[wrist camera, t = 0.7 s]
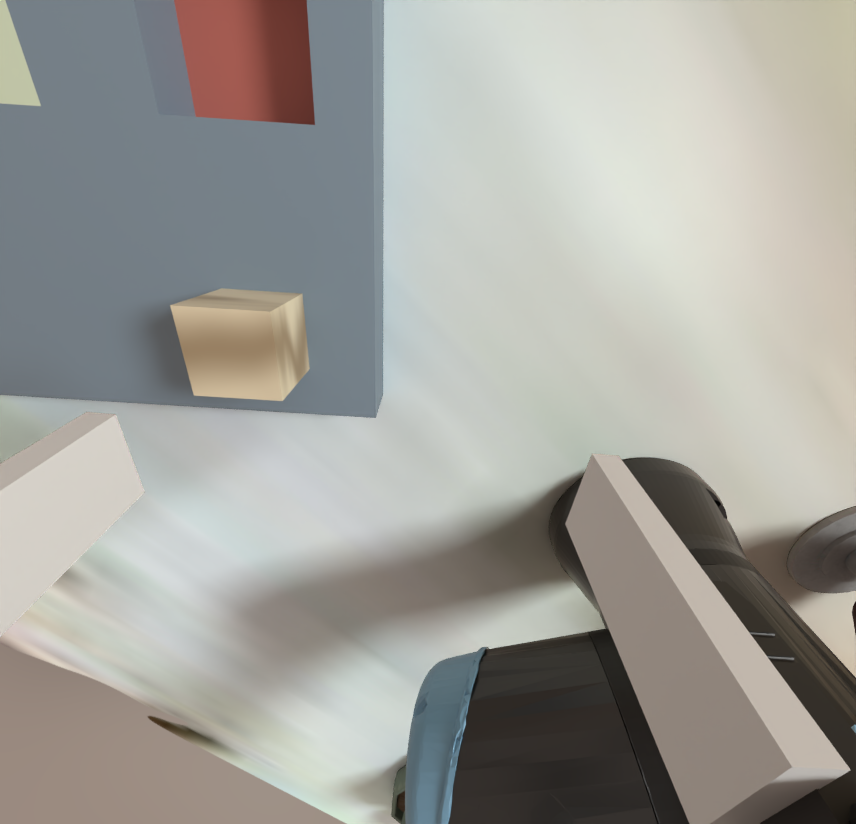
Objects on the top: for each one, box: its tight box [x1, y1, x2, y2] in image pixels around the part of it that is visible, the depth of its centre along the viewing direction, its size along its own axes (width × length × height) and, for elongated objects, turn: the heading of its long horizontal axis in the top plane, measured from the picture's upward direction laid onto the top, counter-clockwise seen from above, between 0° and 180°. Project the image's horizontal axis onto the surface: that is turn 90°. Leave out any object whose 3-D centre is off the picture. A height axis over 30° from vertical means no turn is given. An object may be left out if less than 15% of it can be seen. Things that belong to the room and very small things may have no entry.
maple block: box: [170, 288, 310, 401], centre depth 22 cm, size 5×5×5 cm
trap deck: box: [0, 0, 384, 418], centre depth 20 cm, size 38×32×4 cm
